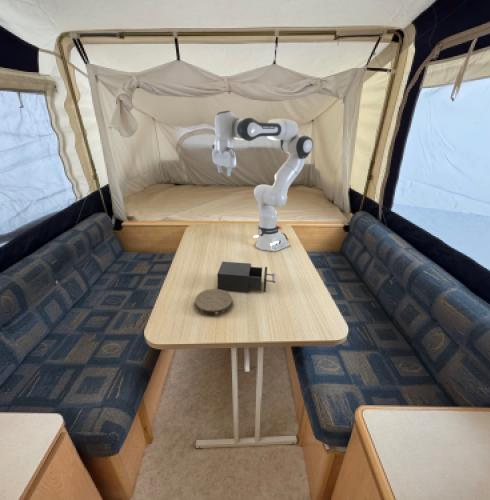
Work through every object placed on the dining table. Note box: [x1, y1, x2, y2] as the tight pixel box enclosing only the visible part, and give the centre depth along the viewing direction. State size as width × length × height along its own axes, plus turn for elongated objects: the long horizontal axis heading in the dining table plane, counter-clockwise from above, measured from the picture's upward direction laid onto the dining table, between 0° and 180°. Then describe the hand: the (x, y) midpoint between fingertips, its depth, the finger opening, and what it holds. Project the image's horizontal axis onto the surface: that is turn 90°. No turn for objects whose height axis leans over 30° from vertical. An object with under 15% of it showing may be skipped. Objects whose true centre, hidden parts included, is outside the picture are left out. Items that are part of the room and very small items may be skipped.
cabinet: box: [216, 261, 252, 294], centre depth 130 cm, size 15×13×9 cm
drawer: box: [248, 266, 276, 293], centre depth 129 cm, size 18×11×7 cm, turn 82°
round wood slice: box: [194, 288, 233, 317], centre depth 116 cm, size 16×16×3 cm
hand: (224, 174), depth 140 cm, fingers open, 8 cm apart
